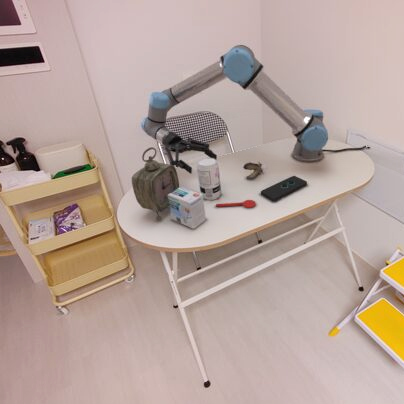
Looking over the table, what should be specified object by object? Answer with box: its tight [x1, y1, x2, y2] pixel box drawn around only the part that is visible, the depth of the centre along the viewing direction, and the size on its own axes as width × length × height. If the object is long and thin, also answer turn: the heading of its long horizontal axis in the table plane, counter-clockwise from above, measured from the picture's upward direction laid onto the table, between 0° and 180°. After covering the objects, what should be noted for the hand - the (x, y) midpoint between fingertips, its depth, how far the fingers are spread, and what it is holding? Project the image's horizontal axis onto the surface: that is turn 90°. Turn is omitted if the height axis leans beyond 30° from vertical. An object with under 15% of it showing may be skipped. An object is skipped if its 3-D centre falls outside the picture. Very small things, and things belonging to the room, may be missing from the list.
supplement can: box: [196, 157, 222, 201], centre depth 118 cm, size 8×8×15 cm
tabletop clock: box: [131, 146, 180, 221], centre depth 107 cm, size 14×9×25 cm, turn 160°
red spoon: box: [215, 199, 256, 209], centre depth 116 cm, size 15×5×1 cm, turn 96°
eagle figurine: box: [242, 161, 267, 181], centre depth 135 cm, size 8×7×9 cm
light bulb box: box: [168, 186, 207, 230], centre depth 106 cm, size 11×7×11 cm, turn 58°
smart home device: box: [260, 175, 308, 203], centre depth 125 cm, size 8×2×20 cm
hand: (204, 164), depth 123 cm, fingers open, 13 cm apart
